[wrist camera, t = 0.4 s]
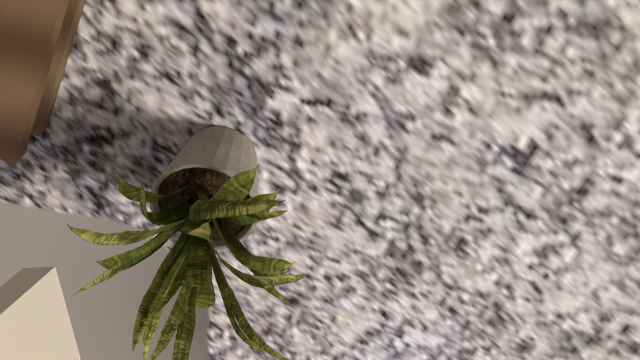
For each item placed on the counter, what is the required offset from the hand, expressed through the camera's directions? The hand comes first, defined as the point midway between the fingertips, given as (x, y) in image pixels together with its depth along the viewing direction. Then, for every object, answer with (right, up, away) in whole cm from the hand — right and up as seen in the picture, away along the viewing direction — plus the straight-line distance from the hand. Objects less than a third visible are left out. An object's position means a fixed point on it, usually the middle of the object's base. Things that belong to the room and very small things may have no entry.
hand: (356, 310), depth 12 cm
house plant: (-7, +4, +32) cm, 33 cm away
